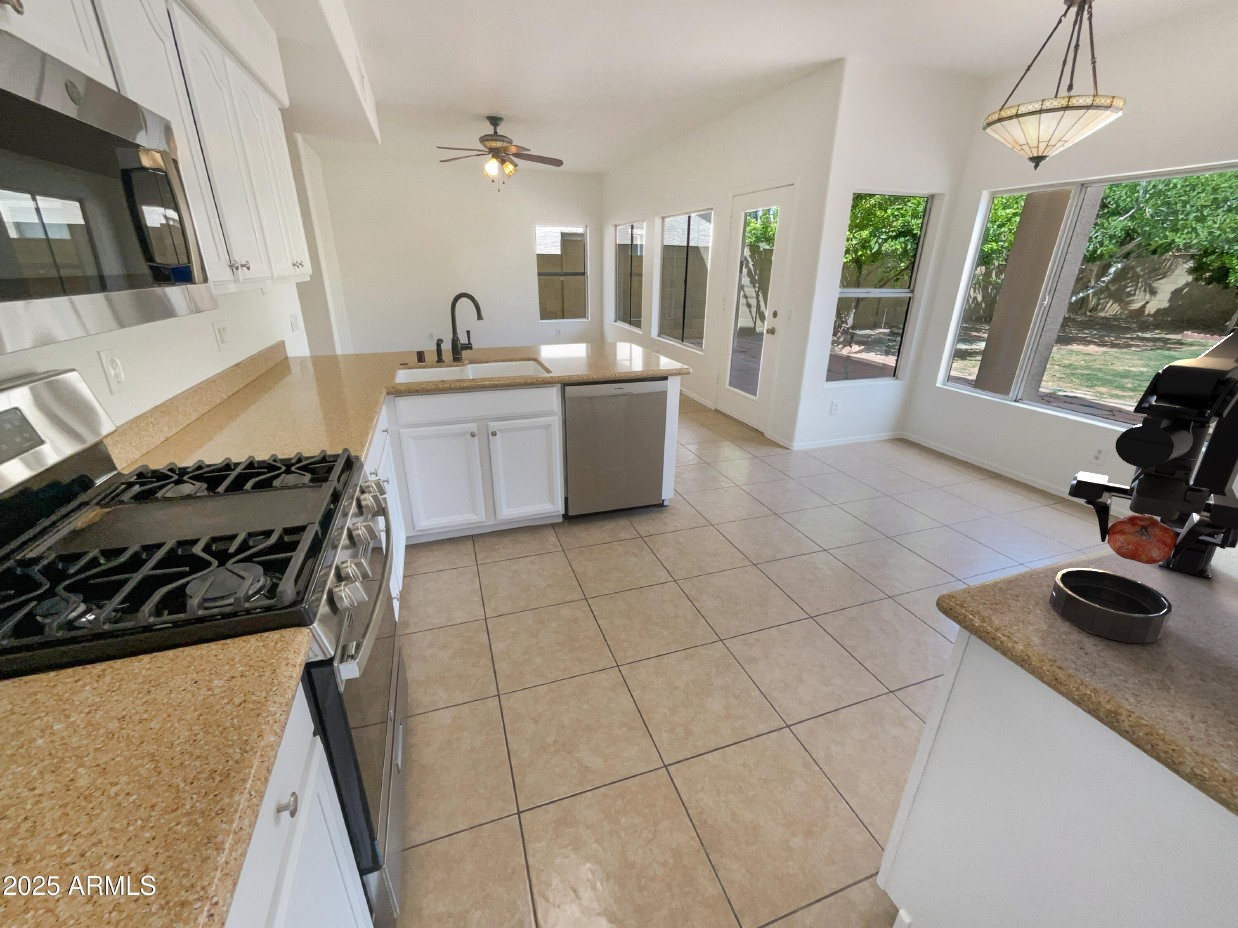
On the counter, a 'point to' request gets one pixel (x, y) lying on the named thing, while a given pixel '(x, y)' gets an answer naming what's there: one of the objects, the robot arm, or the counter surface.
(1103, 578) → the dark shallow dish
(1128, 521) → the tomato
